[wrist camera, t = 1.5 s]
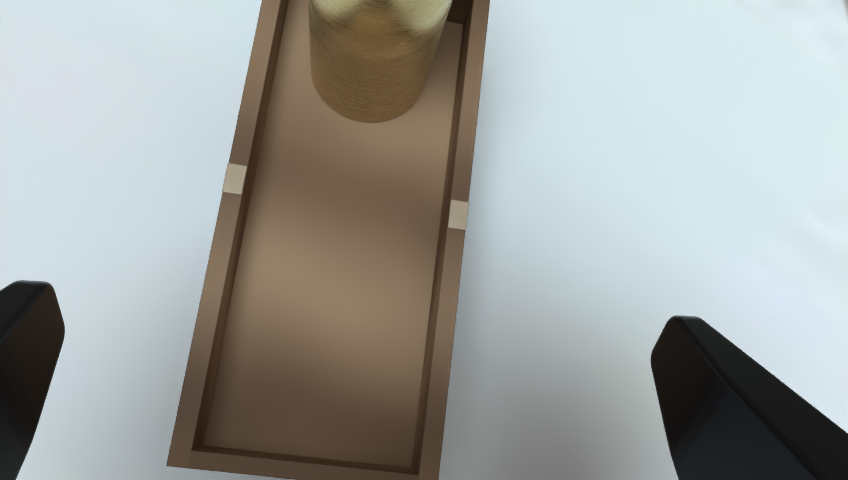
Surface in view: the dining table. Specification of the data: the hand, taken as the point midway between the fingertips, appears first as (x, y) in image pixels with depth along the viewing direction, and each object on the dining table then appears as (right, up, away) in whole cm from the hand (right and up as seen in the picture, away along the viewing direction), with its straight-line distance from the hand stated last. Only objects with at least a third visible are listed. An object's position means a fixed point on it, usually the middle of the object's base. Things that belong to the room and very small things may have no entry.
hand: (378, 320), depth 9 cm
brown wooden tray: (-2, +2, +11) cm, 11 cm away
